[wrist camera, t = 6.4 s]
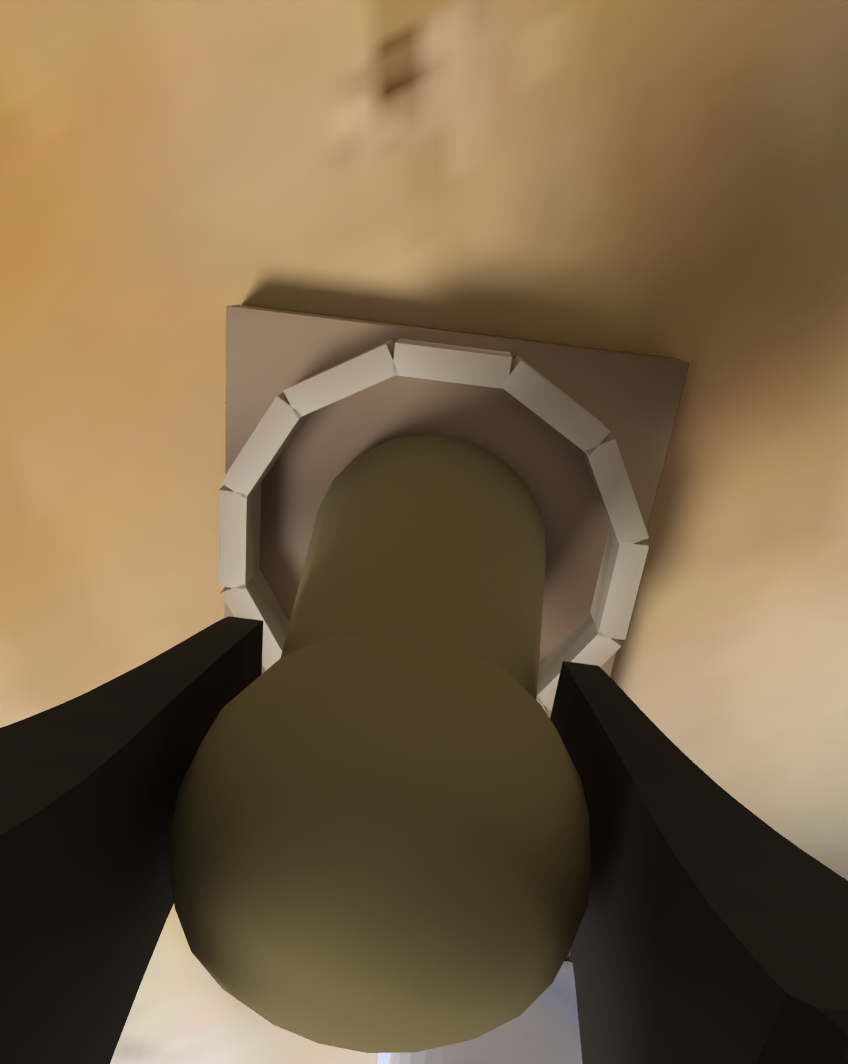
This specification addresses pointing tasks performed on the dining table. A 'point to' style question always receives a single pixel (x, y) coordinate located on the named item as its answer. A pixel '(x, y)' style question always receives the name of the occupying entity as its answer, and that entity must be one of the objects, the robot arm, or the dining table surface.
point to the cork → (393, 774)
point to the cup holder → (452, 411)
